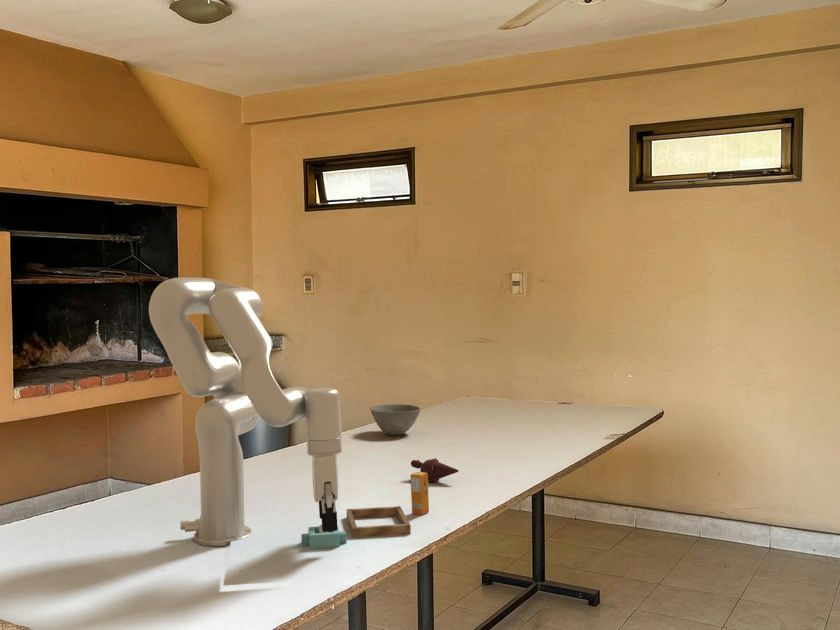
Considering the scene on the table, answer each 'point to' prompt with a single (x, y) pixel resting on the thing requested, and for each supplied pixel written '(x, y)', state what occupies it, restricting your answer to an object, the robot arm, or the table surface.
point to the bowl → (395, 417)
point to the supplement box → (419, 493)
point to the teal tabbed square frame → (323, 538)
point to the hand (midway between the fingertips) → (328, 524)
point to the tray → (378, 530)
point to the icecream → (433, 469)
